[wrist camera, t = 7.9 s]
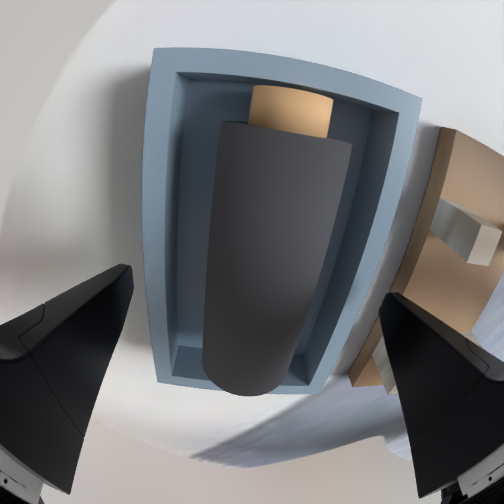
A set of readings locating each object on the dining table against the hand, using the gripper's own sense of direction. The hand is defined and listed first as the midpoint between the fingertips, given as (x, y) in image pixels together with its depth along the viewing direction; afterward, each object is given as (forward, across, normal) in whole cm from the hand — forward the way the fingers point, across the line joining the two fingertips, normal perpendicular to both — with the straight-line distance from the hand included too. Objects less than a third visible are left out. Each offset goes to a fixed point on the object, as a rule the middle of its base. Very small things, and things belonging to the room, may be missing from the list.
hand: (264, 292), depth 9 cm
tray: (+4, 0, 0) cm, 4 cm away
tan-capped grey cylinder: (+3, 0, 0) cm, 3 cm away
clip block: (+4, -12, +1) cm, 12 cm away
